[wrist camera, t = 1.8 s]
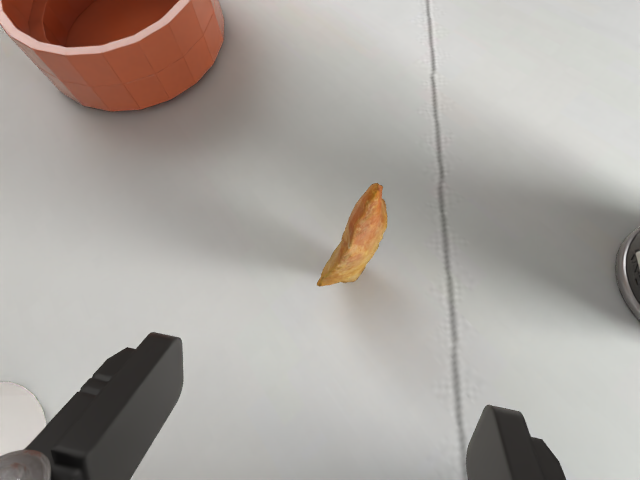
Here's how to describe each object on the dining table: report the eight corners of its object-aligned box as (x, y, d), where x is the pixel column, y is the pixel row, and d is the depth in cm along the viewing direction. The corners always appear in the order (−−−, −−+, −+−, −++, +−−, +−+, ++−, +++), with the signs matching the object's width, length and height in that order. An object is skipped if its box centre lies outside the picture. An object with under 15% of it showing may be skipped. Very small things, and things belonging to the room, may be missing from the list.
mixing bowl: (227, -29, 41) (207, -107, 34) (223, 109, 36) (199, 47, 29) (64, -17, 41) (12, -94, 35) (35, 121, 36) (-32, 62, 29)
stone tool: (340, 312, 29) (349, 249, 15) (315, 293, 30) (300, 215, 16) (381, 259, 31) (423, 155, 17) (356, 241, 31) (376, 126, 17)
